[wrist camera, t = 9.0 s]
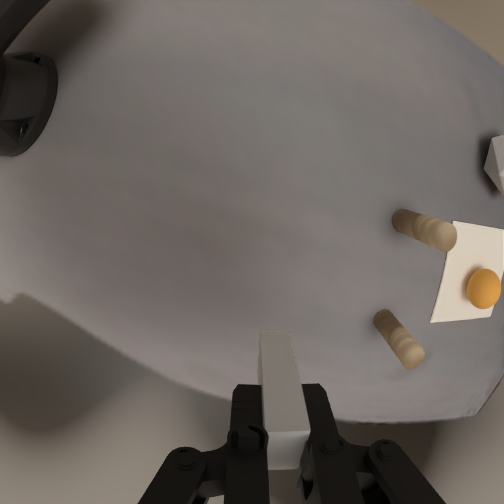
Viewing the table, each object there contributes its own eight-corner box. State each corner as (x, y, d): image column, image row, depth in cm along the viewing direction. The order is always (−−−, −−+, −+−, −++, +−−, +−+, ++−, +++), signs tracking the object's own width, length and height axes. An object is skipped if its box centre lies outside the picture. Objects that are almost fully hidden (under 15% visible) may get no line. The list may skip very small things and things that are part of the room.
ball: (480, 263, 31) (466, 265, 29) (509, 273, 26) (498, 277, 24) (471, 298, 33) (456, 304, 31) (499, 310, 28) (487, 318, 26)
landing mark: (452, 220, 29) (453, 220, 29) (510, 231, 29) (511, 231, 29) (429, 321, 33) (430, 322, 32) (489, 316, 33) (490, 316, 33)
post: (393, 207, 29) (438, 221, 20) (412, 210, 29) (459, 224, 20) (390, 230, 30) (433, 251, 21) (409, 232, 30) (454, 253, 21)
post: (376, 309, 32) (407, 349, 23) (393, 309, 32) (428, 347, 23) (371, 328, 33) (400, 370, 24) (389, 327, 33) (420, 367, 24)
